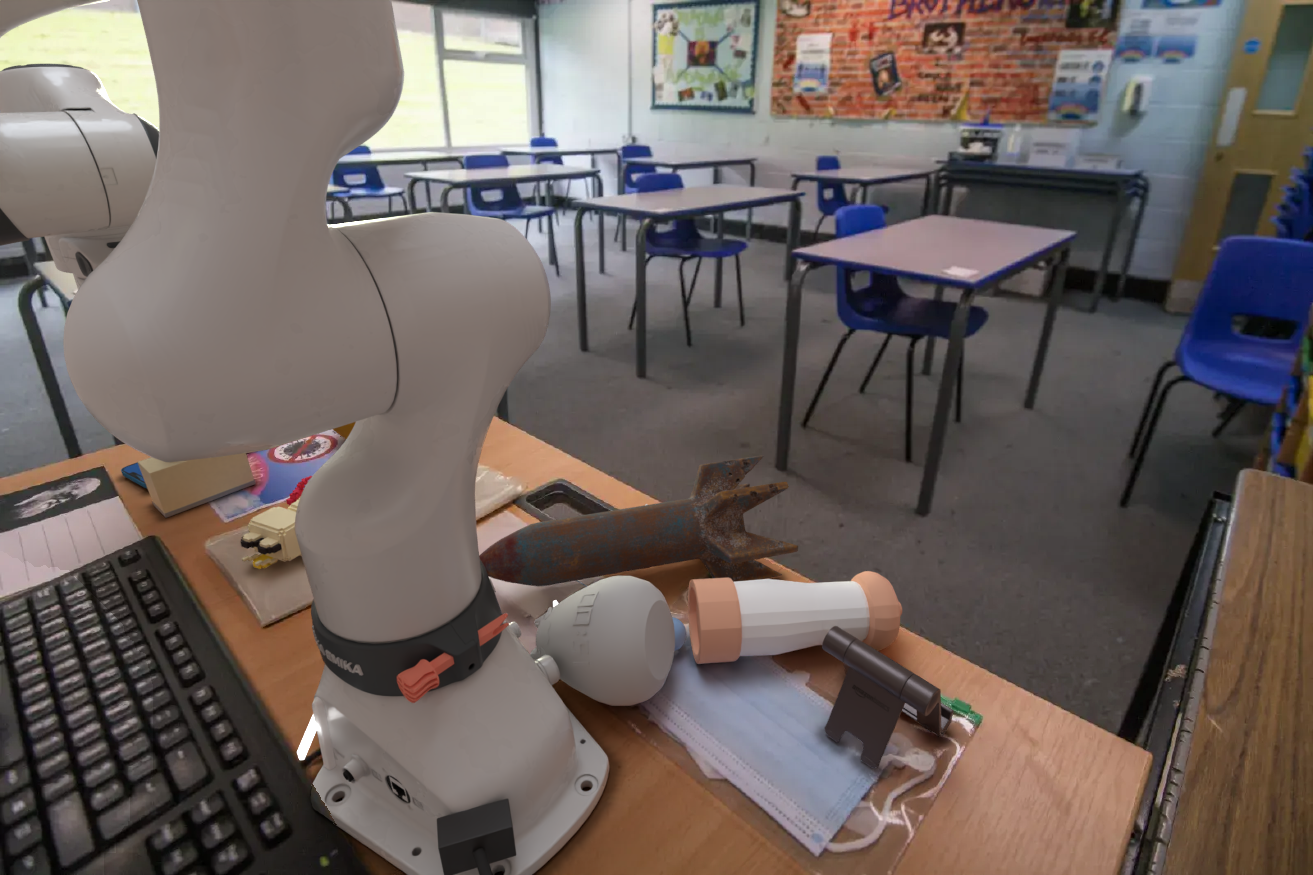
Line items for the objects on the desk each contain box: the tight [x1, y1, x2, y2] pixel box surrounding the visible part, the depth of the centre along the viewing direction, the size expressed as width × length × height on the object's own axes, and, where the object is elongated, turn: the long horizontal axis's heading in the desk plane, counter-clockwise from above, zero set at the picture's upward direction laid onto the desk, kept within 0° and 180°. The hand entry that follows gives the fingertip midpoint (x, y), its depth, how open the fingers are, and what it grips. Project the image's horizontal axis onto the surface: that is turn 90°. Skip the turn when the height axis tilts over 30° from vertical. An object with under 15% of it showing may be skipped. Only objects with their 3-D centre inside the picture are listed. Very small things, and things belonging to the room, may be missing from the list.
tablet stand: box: [821, 626, 955, 769], centre depth 54 cm, size 9×8×8 cm
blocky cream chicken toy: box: [240, 475, 313, 570], centre depth 80 cm, size 10×9×25 cm
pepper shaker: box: [687, 570, 903, 665], centre depth 63 cm, size 7×7×19 cm
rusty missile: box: [479, 455, 799, 587], centre depth 69 cm, size 12×12×30 cm
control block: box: [137, 453, 256, 518], centre depth 84 cm, size 4×10×6 cm, turn 140°
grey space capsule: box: [529, 575, 675, 707], centre depth 58 cm, size 10×10×12 cm
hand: (149, 373), depth 77 cm, fingers open, 8 cm apart
